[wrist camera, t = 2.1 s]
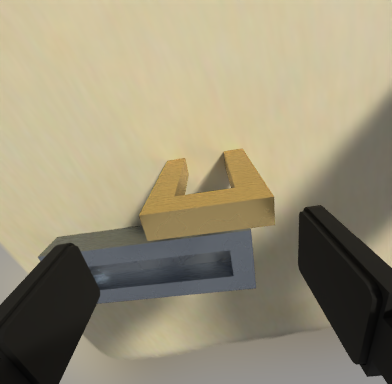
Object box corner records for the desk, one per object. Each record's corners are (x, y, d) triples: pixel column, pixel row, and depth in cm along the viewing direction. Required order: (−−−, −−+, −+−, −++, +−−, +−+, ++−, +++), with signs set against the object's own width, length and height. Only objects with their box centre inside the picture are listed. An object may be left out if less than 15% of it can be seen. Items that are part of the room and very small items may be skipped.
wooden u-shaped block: (242, 148, 18) (274, 196, 10) (244, 166, 19) (274, 225, 11) (167, 160, 19) (138, 215, 11) (171, 177, 20) (147, 241, 11)
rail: (245, 211, 21) (251, 230, 18) (250, 265, 24) (255, 288, 21) (57, 237, 23) (37, 256, 20) (83, 283, 26) (69, 306, 23)
